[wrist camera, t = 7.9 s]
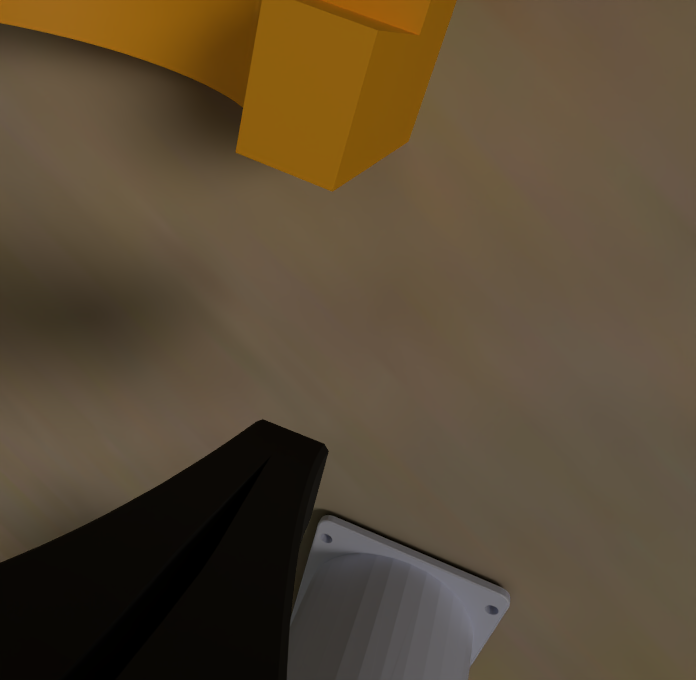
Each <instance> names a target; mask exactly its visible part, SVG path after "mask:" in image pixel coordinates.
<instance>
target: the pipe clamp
mask: <svg viewBox="0 0 696 680" xmlns="http://www.w3.org/2000/svg"><path fill="white" fill-rule="evenodd" d="M456 1H457V0H0V23H2V24H8V25H13V26H18V27H22V28H27V29H32V30H37V31H41V32H45V33H50V34H54V35H58V36H62V37H66V38H70V39H74V40H78V41H82V42H86V43H90V44H93V45H97V46H100V47H104V48H107V49H111V50H114V51H117V52H121V53H124V54H127V55H130V56H133V57H136V58H139V59H142V60H145V61H148V62H151V63H154V64H156V65H159V66H162V67H165V68H167V69H170V70H172V71H175V72H177V73H180V74H182V75H185V76H187V77H189V78H192V79H194V80H196V81H198V82H200V83H203V84H205V85H207V86H209V87H211V88H212V89H214V90H216V91H218V92H220V93H222V94H223V95H225V96H227V97H228V98H230V99H232V100H233V101H235V102H236V103H238V104H239V105H240V106H241V107H243V112H242V118H241V124H240V129H239V135H238V141H237V147H236V153H238V154H241V155H243V156H246V157H248V158H250V159H253V160H255V161H258V162H260V163H263V164H265V165H268V166H270V167H273V168H275V169H278V170H280V171H283V172H285V173H288V174H290V175H293V176H295V177H298V178H300V179H302V180H305V181H307V182H310V183H312V184H315V185H317V186H320V187H322V188H325V189H327V190H330V191H332V192H333V191H334V190H336V189H337V188H339V187H340V186H342V185H343V184H345V183H346V182H348V181H349V180H351V179H352V178H354V177H355V176H357V175H358V174H360V173H361V172H363V171H364V170H366V169H367V168H369V167H371V166H372V165H374V164H375V163H377V162H378V161H380V160H381V159H383V158H384V157H386V156H387V155H389V154H390V153H392V152H393V151H395V150H396V149H398V148H399V147H401V146H402V145H404V144H405V143H407V142H408V141H409V138H410V135H411V132H412V130H413V127H414V124H415V121H416V118H417V115H418V112H419V109H420V106H421V103H422V100H423V97H424V95H425V92H426V89H427V86H428V83H429V80H430V77H431V74H432V71H433V68H434V65H435V62H436V60H437V57H438V54H439V51H440V48H441V45H442V42H443V39H444V36H445V33H446V30H447V27H448V25H449V22H450V19H451V16H452V13H453V10H454V7H455V4H456Z"/></svg>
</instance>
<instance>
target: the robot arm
mask: <svg viewBox="0 0 696 680" xmlns="http://www.w3.org/2000/svg"><path fill="white" fill-rule="evenodd" d="M328 452H329V451H328V449H327V448H326V446H325V444H323V443H321V442H318V441H316V440H313V439H311V438H308V437H306V436H303V435H301V434H298V433H296V432H293V431H291V430H288V429H286V428H283V427H281V426H278V425H276V424H273V423H271V422H268V421H266V420H263V419H262V420H260V421H257V422H255V423H254V424H252V425H251V426H250V427H248V428H247V429H245V430H244V431H243V432H241V433H240V434H238V435H237V436H235V437H234V438H232V439H231V440H230V441H228V442H227V443H225V444H224V445H222V446H221V447H219V448H218V449H216V450H215V451H213V452H212V453H210V454H209V455H207V456H205V457H204V458H202V459H201V460H199V461H198V462H196V463H194V464H193V465H191V466H190V467H188V468H186V469H185V470H183V471H181V472H180V473H178V474H177V475H175V476H173V477H172V478H170V479H168V480H167V481H165V482H164V483H162V484H160V485H158V486H157V487H155V488H153V489H151V490H150V491H148V492H146V493H144V494H142V495H141V496H139V497H137V498H135V499H133V500H131V501H130V502H128V503H126V504H124V505H122V506H121V507H119V508H117V509H115V510H113V511H111V512H110V513H108V514H106V515H104V516H102V517H100V518H98V519H96V520H94V521H92V522H90V523H88V524H86V525H84V526H82V527H80V528H78V529H76V530H74V531H72V532H69V533H67V534H65V535H63V536H61V537H59V538H56V539H54V540H52V541H50V542H48V543H46V544H43V545H41V546H39V547H37V548H34V549H32V550H30V551H27V552H25V553H22V554H20V555H18V556H15V557H13V558H11V559H8V560H6V561H3V562H1V563H0V680H468V676H469V668H470V666H471V665H472V663H473V662H474V660H475V659H476V657H477V656H478V654H479V653H480V651H481V649H482V648H483V646H484V645H485V643H486V642H487V640H488V639H489V637H490V636H491V634H492V632H493V631H494V629H495V628H496V626H497V625H498V623H499V622H500V620H501V619H502V617H503V615H504V614H505V612H506V611H507V609H508V608H509V605H510V595H509V593H508V592H507V591H506V590H505V589H503V588H502V587H500V586H497V585H495V584H492V583H490V582H488V581H485V580H483V579H481V578H478V577H476V576H474V575H471V574H469V573H467V572H464V571H462V570H460V569H457V568H455V567H452V566H450V565H448V564H445V563H443V562H441V561H438V560H436V559H434V558H431V557H429V556H427V555H424V554H422V553H420V552H417V551H415V550H413V549H410V548H408V547H405V546H403V545H401V544H398V543H396V542H394V541H391V540H389V539H387V538H384V537H382V536H380V535H377V534H375V533H373V532H370V531H368V530H365V529H363V528H361V527H358V526H356V525H354V524H351V523H349V522H347V521H344V520H342V519H340V518H337V517H335V516H332V515H325V516H323V517H322V518H321V519H320V521H319V523H318V526H317V529H316V533H315V536H314V540H313V543H312V546H311V550H310V553H309V557H308V560H307V564H306V567H305V571H304V574H303V577H302V581H301V584H300V588H299V591H298V595H297V598H296V602H295V605H294V608H293V612H292V615H291V609H292V599H293V590H294V581H295V573H296V566H297V559H298V552H299V546H300V543H301V540H302V538H303V535H304V533H305V530H306V528H307V526H308V523H309V521H310V518H311V515H312V511H313V507H314V504H315V500H316V496H317V493H318V489H319V485H320V481H321V478H322V474H323V470H324V467H325V463H326V459H327V455H328ZM327 534H328V535H329V536H328V535H327Z"/></svg>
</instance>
